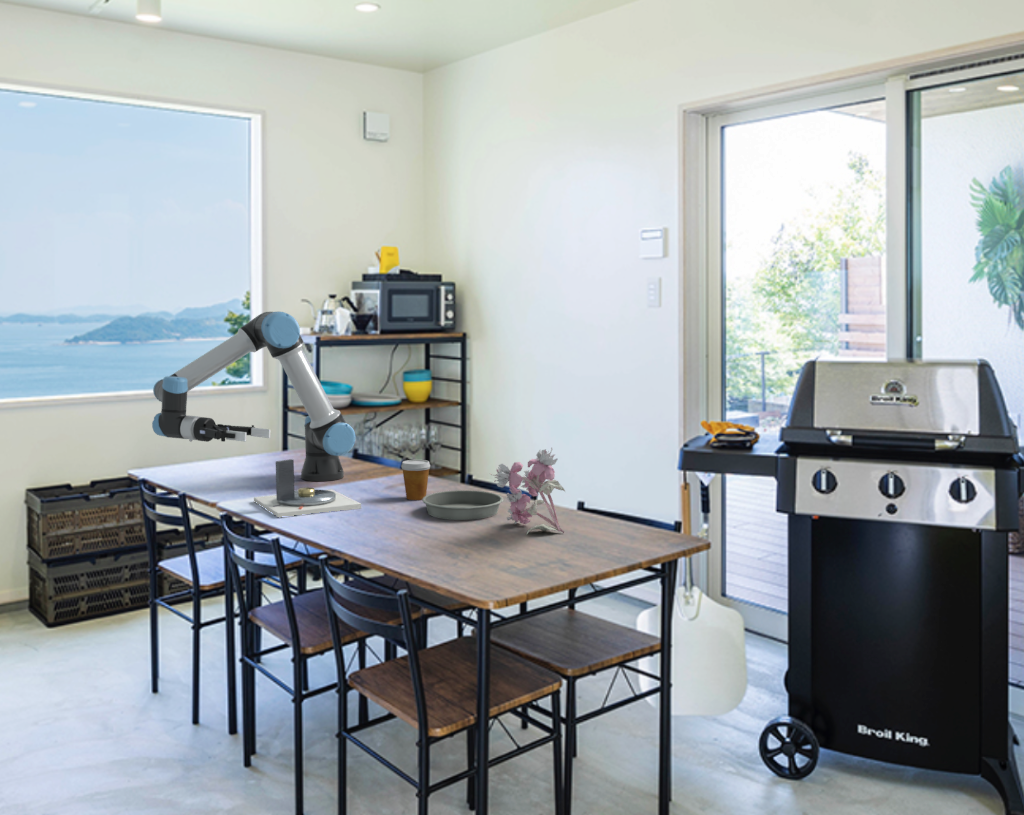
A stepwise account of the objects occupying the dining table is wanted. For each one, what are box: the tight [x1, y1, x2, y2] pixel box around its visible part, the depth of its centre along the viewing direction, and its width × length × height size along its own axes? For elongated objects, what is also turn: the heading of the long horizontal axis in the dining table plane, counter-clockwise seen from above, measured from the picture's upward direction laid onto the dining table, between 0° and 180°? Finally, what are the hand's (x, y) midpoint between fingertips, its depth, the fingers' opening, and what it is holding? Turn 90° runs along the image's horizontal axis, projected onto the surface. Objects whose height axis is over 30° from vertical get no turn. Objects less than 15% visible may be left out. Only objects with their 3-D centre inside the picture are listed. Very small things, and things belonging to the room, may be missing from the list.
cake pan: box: [421, 489, 504, 521], centre depth 286 cm, size 25×25×4 cm
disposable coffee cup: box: [400, 459, 431, 501], centre depth 305 cm, size 10×10×12 cm
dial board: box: [253, 489, 362, 518], centre depth 295 cm, size 26×26×2 cm
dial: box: [275, 458, 336, 506], centre depth 293 cm, size 20×18×13 cm
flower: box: [489, 447, 566, 535], centre depth 264 cm, size 20×22×25 cm
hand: (258, 435), depth 291 cm, fingers open, 13 cm apart
